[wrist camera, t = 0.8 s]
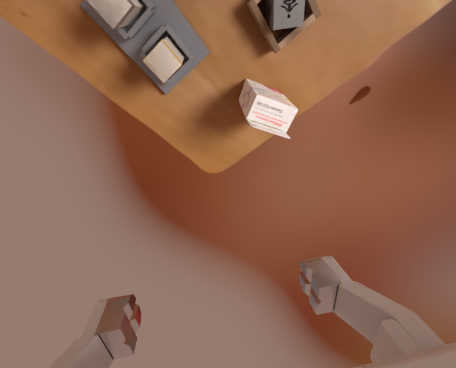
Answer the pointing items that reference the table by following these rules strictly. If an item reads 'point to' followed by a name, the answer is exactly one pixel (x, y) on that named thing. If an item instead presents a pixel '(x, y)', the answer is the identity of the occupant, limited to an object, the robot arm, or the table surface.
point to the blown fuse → (118, 11)
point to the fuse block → (156, 37)
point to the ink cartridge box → (266, 108)
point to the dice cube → (285, 13)
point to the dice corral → (292, 32)
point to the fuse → (164, 59)
